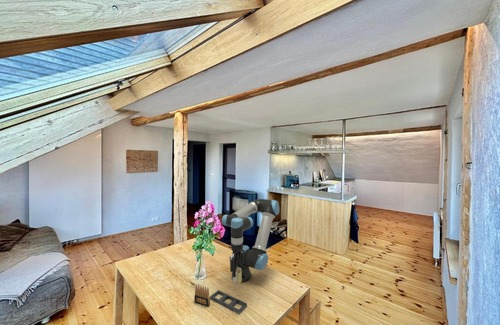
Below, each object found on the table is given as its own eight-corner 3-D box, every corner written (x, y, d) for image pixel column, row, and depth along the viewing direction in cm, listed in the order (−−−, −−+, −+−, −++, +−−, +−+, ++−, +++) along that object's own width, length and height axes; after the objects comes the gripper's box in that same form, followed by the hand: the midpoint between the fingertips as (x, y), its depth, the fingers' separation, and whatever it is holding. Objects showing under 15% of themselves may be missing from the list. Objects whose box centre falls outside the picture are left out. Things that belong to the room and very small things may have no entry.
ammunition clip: (210, 305, 127) (209, 286, 127) (208, 307, 125) (208, 288, 125) (196, 300, 131) (195, 282, 131) (194, 302, 129) (194, 284, 129)
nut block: (236, 279, 132) (236, 268, 132) (241, 281, 130) (241, 270, 130) (233, 282, 128) (232, 271, 128) (238, 284, 126) (238, 273, 126)
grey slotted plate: (218, 292, 139) (218, 289, 139) (247, 306, 125) (247, 303, 125) (210, 299, 132) (210, 296, 132) (239, 314, 119) (239, 311, 119)
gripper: (239, 237, 138) (239, 271, 138) (224, 246, 123) (224, 284, 124) (248, 239, 134) (248, 274, 134) (234, 249, 120) (234, 288, 120)
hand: (237, 279), depth 129 cm, fingers closed on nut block, 4 cm apart
